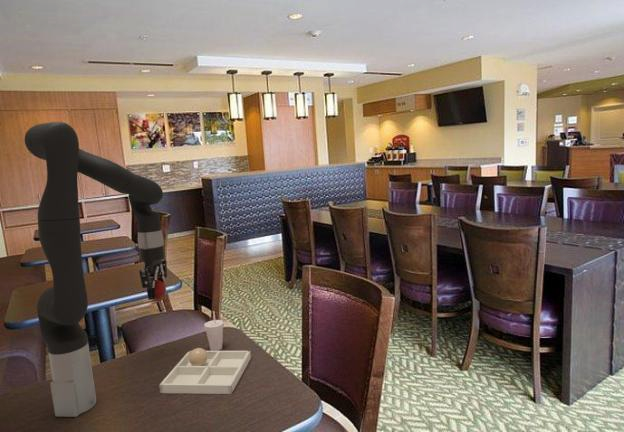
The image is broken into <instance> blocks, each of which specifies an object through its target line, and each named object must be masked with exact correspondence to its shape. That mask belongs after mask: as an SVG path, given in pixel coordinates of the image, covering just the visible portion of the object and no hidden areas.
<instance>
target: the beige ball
mask: <svg viewBox="0 0 624 432" xmlns="http://www.w3.org/2000/svg"><path fill="white" fill-rule="evenodd" d="M191 351H192V352H191V353H190V355H189V362H190V363H191V365H193V366H203V365H204V364H205V363H206V361H207V358H208V355H207V352H206V351H207V350H205V349H204V348H201V347H197V348H194V349H192V350H191Z"/></svg>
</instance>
